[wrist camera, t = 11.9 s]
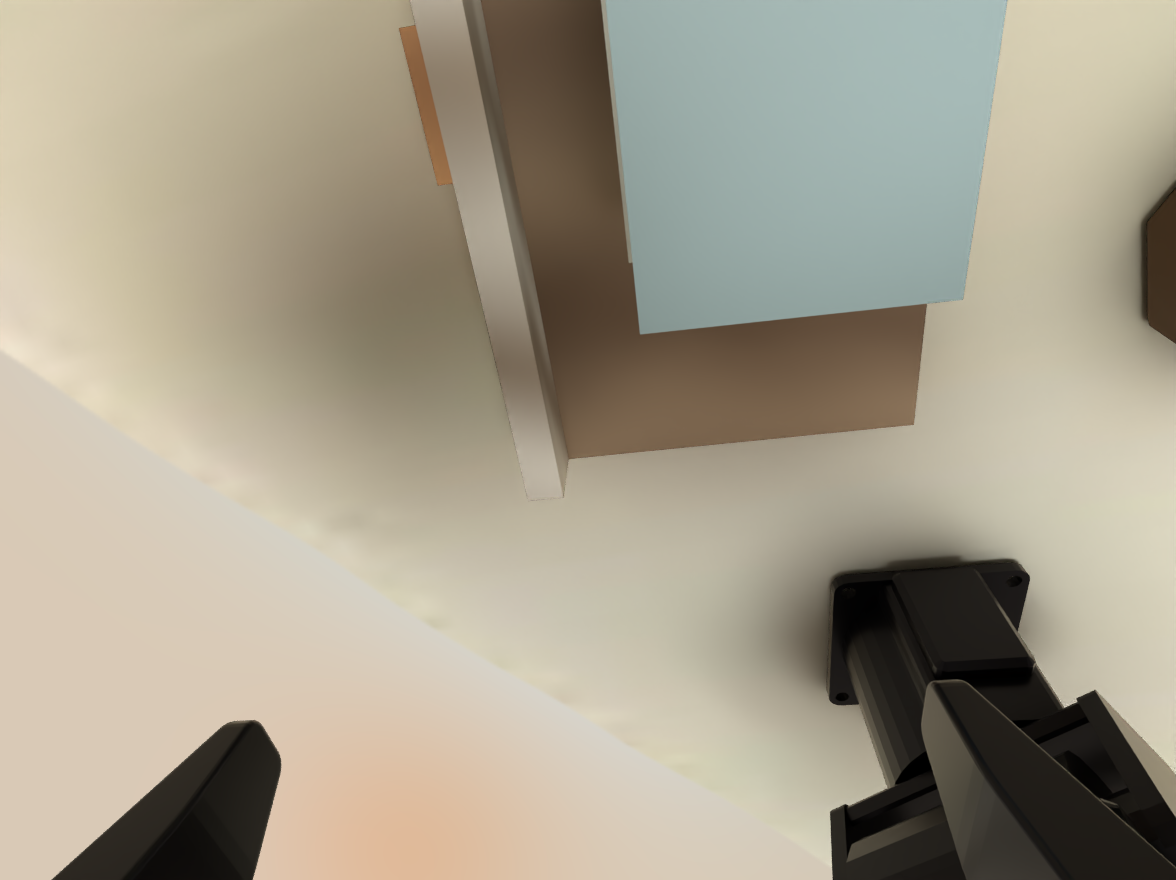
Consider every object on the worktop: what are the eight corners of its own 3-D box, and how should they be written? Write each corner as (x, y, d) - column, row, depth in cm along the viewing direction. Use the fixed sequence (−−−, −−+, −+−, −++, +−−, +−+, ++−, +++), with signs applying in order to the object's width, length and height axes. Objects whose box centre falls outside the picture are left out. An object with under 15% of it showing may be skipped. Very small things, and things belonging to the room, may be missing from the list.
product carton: (834, -135, 13) (1052, -306, 6) (822, 186, 16) (963, 299, 10) (600, -93, 14) (573, -210, 7) (630, 210, 17) (633, 334, 10)
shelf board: (896, 400, 21) (940, 462, 18) (529, 438, 22) (514, 502, 19) (997, -721, 11) (1139, -1010, 8) (314, -528, 12) (210, -712, 9)
